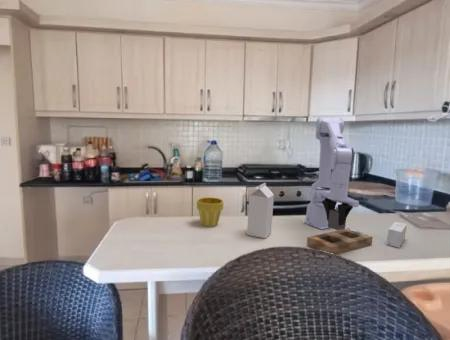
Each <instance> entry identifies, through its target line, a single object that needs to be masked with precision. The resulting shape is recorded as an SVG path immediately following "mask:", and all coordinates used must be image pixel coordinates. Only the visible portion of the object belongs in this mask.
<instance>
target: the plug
mask: <svg viewBox="0 0 450 340" xmlns="http://www.w3.org/2000/svg"><path fill="white" fill-rule="evenodd" d="M338 219H339V211H338V206H335V209H332V210H330V211H329V219H328V227H330V228H329V229H332V230H334V231H338V230H342V229H346V224H347V222H346V221H347V219H346V220H345V223H344V225H339V224H338Z"/></svg>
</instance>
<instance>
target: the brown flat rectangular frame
mask: <svg viewBox="0 0 450 340" xmlns="http://www.w3.org/2000/svg"><path fill="white" fill-rule="evenodd" d="M373 238H374V237H373V236H371V235H369V234H367V233H365V232H362V231H359V230H356V229H354V228H350V227H347V228H345V229H342V230H333V231H329V232H324V233H320V234H315V235H311V236H308V237H307V238H306V239H307V240H306V241H307V242H306V246H307V247H309V248H311V249H314V250H315V249H317V250H316V251H318V250H322V251H326V252H329V253H333V254H337V255H340V254H344V253H347V252H350V251H351V252H352V251H355V250H358V249H362V248H366V247H368V246H371V245H373ZM337 255H336V256H337Z"/></svg>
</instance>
